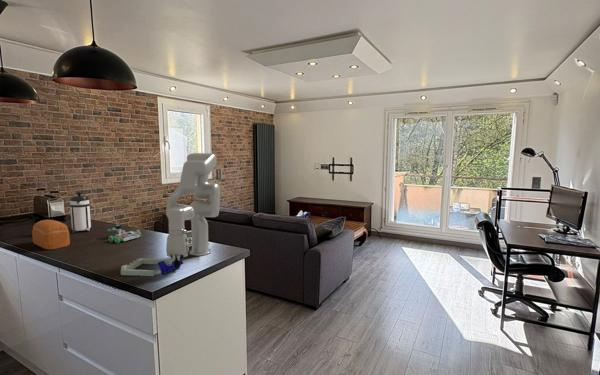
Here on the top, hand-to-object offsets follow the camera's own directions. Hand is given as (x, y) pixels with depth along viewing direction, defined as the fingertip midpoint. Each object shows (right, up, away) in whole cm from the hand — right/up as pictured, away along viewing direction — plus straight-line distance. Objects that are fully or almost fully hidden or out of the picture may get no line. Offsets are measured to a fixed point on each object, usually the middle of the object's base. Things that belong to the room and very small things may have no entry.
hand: (177, 267), depth 164 cm
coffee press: (-105, +8, +81) cm, 133 cm away
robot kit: (-63, +5, +60) cm, 87 cm away
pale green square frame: (-17, -2, +2) cm, 17 cm away
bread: (-99, +3, +45) cm, 109 cm away
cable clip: (-3, -1, +1) cm, 4 cm away
